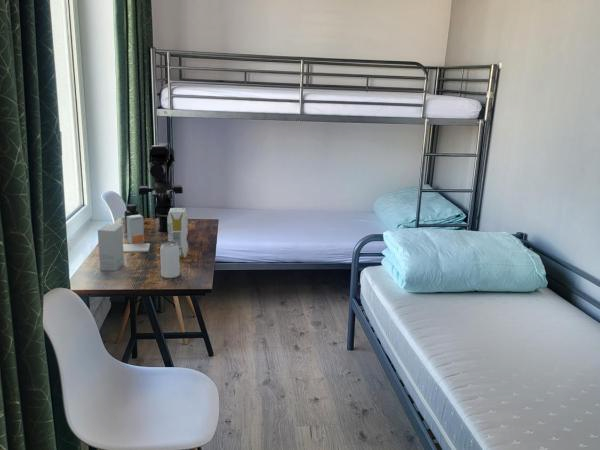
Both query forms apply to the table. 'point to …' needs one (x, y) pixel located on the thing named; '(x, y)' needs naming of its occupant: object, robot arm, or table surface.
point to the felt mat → (136, 247)
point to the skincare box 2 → (135, 229)
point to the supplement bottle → (130, 212)
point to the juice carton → (178, 229)
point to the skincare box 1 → (110, 247)
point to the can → (170, 259)
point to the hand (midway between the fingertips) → (161, 208)
